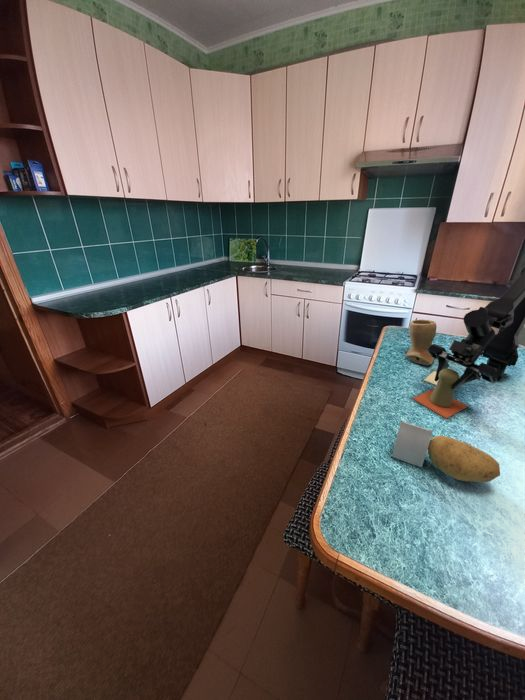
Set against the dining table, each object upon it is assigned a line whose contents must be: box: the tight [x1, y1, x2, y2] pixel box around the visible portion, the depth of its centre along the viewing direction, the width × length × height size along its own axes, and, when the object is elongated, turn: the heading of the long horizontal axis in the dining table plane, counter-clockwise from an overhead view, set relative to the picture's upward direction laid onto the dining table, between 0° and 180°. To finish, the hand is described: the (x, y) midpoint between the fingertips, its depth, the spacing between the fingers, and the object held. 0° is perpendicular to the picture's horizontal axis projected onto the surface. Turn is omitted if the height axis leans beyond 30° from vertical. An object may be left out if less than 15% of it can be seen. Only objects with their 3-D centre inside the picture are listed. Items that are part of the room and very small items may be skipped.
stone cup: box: [405, 319, 437, 366], centre depth 114 cm, size 15×12×15 cm
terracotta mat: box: [412, 387, 468, 420], centre depth 91 cm, size 11×11×1 cm
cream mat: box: [423, 370, 439, 386], centre depth 102 cm, size 9×9×1 cm
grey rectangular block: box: [391, 420, 433, 468], centre depth 70 cm, size 4×7×10 cm, turn 59°
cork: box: [430, 368, 460, 407], centre depth 88 cm, size 6×6×11 cm
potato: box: [427, 434, 501, 483], centre depth 66 cm, size 10×14×8 cm
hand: (443, 384), depth 87 cm, fingers closed on cork, 5 cm apart
